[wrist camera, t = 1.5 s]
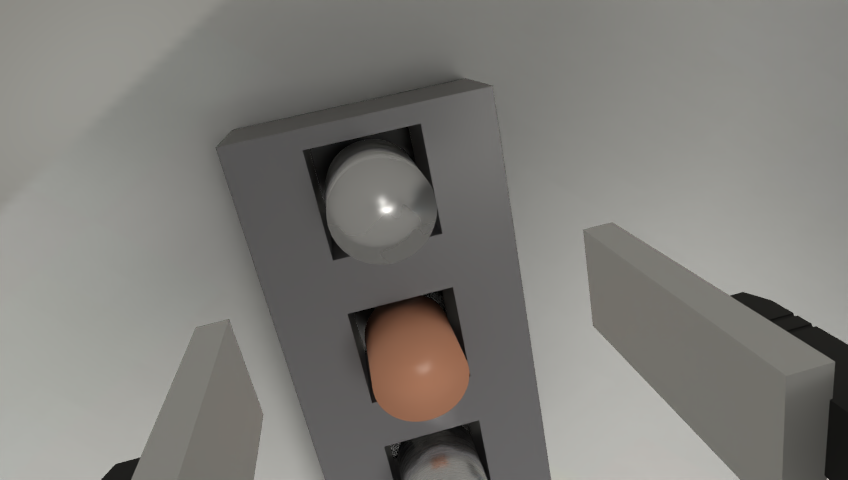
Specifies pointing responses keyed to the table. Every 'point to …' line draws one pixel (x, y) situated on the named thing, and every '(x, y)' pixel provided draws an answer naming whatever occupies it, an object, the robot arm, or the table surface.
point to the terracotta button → (415, 359)
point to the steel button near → (378, 202)
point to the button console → (394, 278)
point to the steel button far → (440, 457)
